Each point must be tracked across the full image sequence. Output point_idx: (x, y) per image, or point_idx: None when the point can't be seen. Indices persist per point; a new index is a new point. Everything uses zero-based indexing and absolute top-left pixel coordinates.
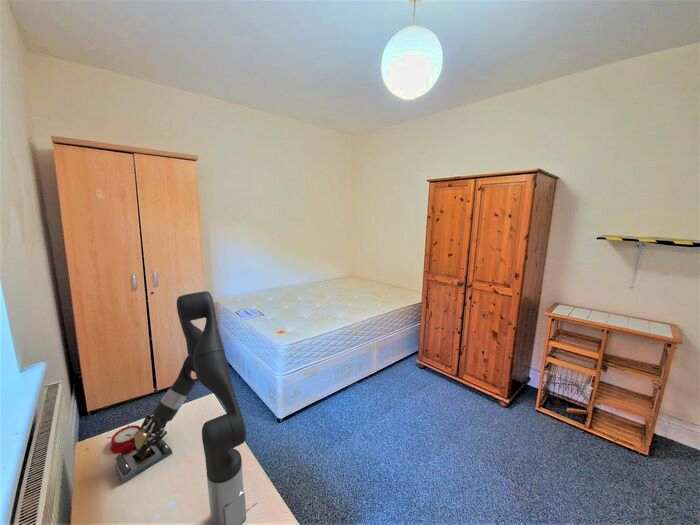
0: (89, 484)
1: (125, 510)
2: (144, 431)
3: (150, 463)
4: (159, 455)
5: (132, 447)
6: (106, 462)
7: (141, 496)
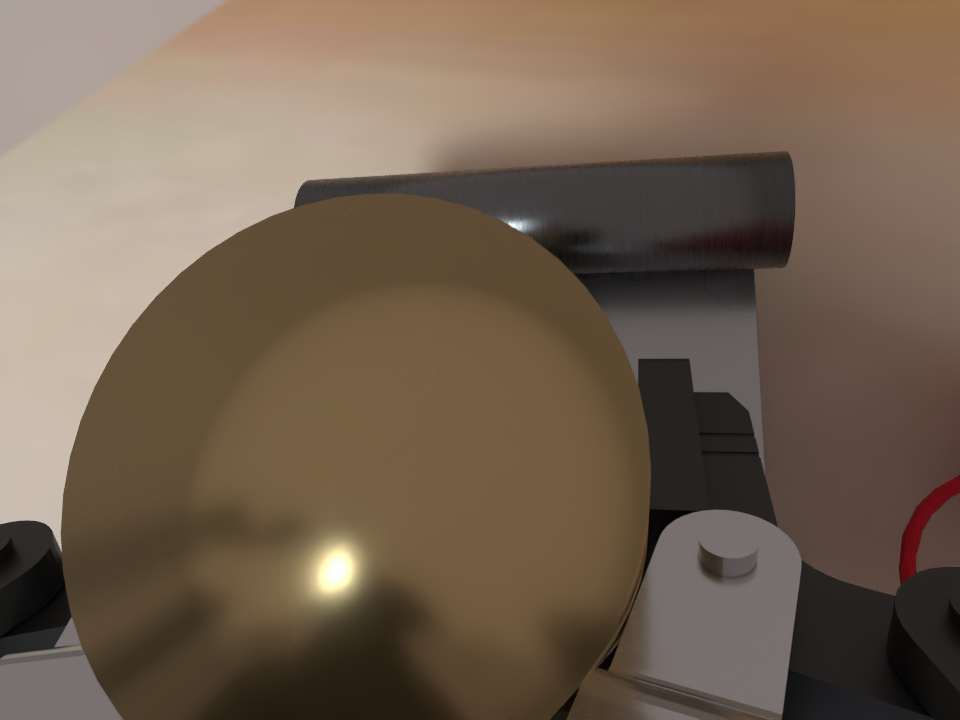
0: (744, 2)
1: (54, 194)
2: (318, 635)
3: None
4: None
5: (664, 361)
6: None
7: (52, 337)
